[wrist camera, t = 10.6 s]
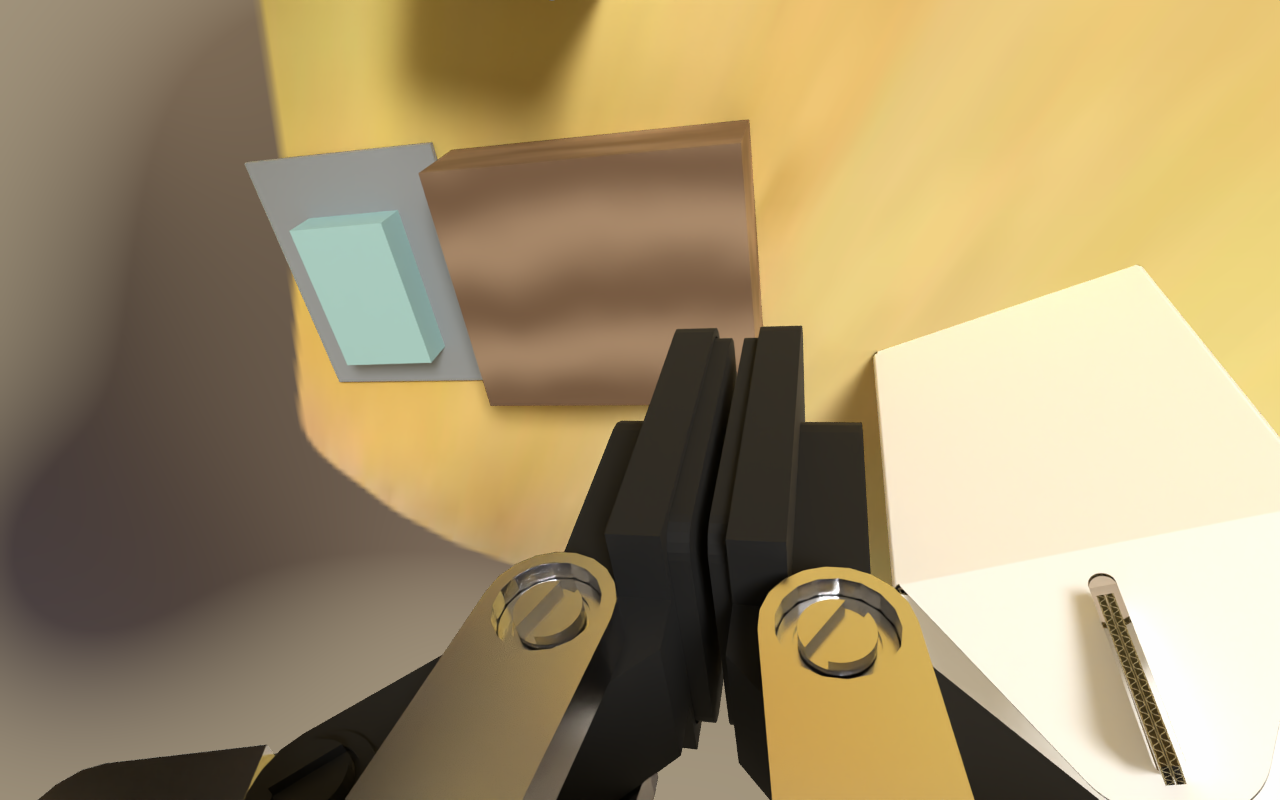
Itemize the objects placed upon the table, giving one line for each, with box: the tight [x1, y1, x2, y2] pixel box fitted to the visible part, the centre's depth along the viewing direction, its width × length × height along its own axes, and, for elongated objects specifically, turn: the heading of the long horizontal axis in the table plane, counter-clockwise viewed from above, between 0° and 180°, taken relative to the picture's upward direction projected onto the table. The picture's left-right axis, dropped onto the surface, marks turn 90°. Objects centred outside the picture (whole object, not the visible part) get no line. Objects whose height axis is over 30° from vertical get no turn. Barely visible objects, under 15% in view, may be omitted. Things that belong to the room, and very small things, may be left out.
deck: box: [418, 120, 763, 406], centre depth 40 cm, size 14×16×4 cm
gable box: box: [873, 265, 1280, 800], centre depth 32 cm, size 22×13×28 cm, turn 30°
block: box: [290, 210, 445, 365], centre depth 45 cm, size 9×6×2 cm, turn 9°
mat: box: [244, 142, 483, 382], centre depth 45 cm, size 15×12×1 cm
